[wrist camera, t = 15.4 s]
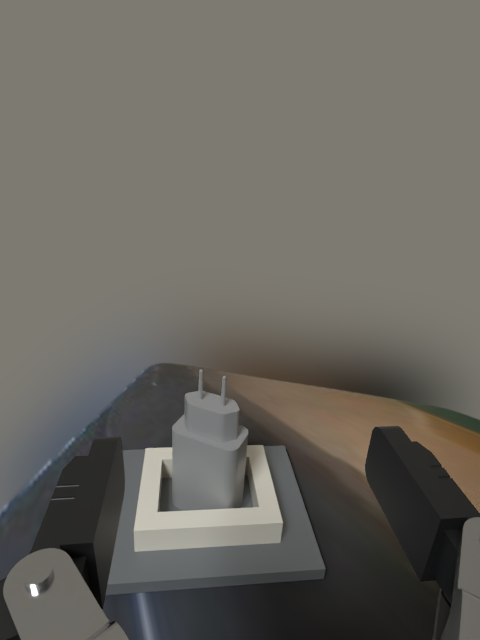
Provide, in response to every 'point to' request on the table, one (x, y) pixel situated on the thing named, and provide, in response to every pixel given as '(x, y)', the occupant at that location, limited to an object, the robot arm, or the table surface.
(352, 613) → the table surface
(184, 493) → the power adapter
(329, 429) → the table surface
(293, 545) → the docking plate
